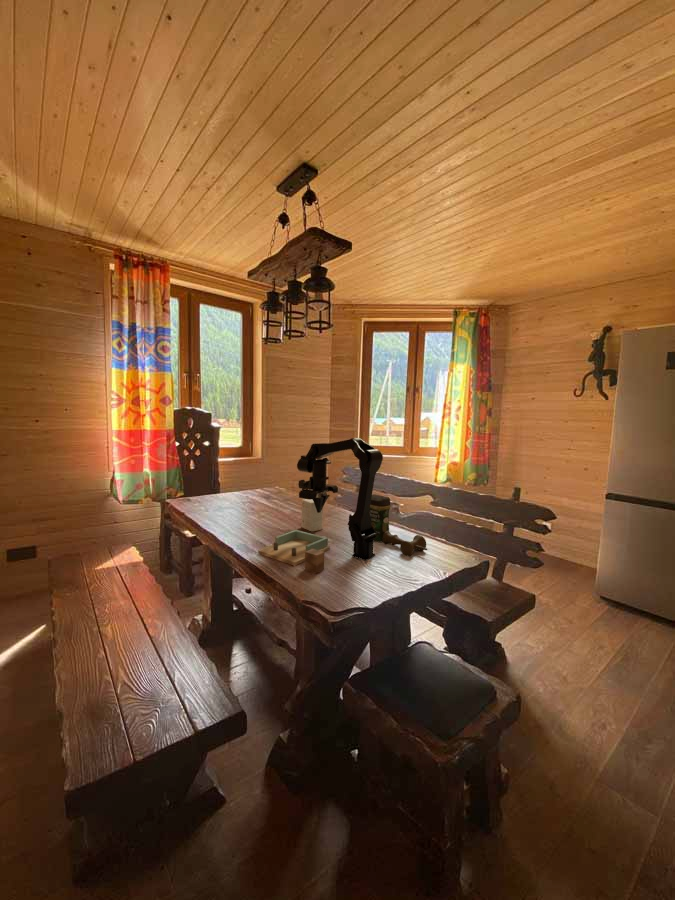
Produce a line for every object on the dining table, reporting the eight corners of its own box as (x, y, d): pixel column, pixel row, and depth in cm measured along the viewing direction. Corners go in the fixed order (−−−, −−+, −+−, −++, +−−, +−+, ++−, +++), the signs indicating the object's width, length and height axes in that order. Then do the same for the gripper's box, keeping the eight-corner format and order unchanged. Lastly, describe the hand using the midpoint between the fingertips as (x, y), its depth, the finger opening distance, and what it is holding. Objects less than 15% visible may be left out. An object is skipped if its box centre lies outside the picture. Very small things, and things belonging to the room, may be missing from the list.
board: (329, 549, 143) (329, 539, 143) (294, 565, 127) (294, 555, 127) (294, 539, 153) (294, 530, 153) (258, 553, 137) (258, 543, 137)
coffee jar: (362, 538, 157) (363, 494, 155) (374, 534, 163) (375, 492, 161) (380, 543, 150) (382, 498, 148) (392, 539, 156) (393, 495, 154)
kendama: (392, 541, 155) (434, 554, 140) (377, 547, 149) (419, 561, 134) (392, 527, 154) (434, 538, 140) (377, 533, 148) (419, 545, 133)
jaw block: (324, 569, 125) (324, 551, 124) (316, 573, 121) (316, 555, 121) (312, 565, 128) (312, 548, 127) (304, 569, 124) (305, 551, 124)
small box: (322, 529, 168) (323, 501, 166) (311, 532, 164) (311, 502, 162) (312, 525, 174) (312, 497, 173) (301, 527, 170) (301, 499, 169)
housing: (327, 545, 143) (327, 538, 143) (308, 554, 134) (308, 546, 133) (295, 536, 153) (295, 529, 152) (275, 544, 143) (275, 537, 143)
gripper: (318, 469, 161) (317, 505, 163) (288, 474, 146) (288, 513, 148) (339, 472, 155) (338, 509, 156) (310, 478, 140) (309, 518, 141)
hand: (318, 512), depth 151 cm, fingers closed
